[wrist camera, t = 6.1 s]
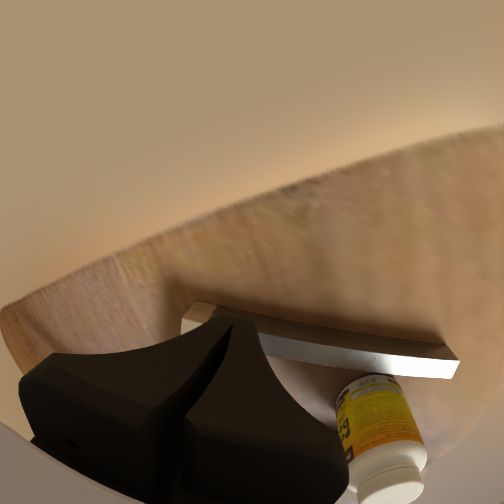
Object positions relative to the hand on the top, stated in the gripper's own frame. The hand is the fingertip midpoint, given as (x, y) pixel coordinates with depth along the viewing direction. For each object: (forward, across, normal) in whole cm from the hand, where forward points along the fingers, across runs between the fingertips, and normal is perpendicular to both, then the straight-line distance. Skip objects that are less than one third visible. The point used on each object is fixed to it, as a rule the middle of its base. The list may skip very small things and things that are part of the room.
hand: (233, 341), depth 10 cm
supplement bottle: (+10, -10, +9) cm, 17 cm away
